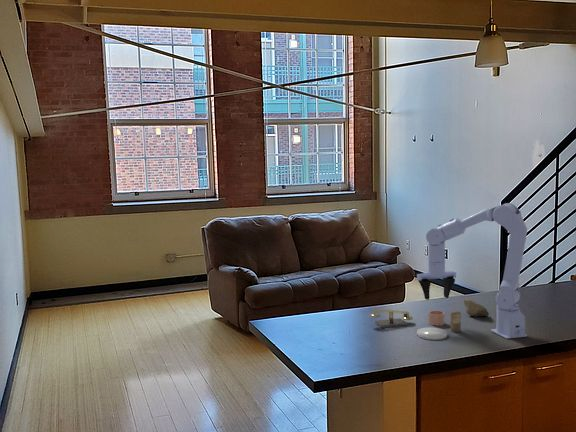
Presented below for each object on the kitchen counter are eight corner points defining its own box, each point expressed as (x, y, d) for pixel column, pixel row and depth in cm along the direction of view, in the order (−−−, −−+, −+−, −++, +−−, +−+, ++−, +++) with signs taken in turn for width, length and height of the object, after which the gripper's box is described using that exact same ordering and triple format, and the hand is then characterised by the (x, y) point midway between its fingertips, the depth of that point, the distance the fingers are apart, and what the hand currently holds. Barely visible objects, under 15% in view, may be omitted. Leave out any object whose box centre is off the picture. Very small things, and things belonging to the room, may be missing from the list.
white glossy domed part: (452, 338, 196) (452, 334, 196) (425, 341, 194) (425, 337, 194) (438, 329, 206) (438, 326, 206) (411, 332, 204) (411, 329, 204)
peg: (462, 331, 203) (462, 313, 202) (453, 332, 202) (453, 314, 202) (457, 329, 206) (457, 310, 206) (448, 329, 206) (448, 311, 205)
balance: (416, 324, 213) (416, 307, 212) (372, 328, 209) (372, 311, 208) (408, 320, 219) (408, 303, 218) (366, 324, 215) (366, 307, 214)
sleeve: (447, 324, 211) (447, 313, 211) (433, 326, 210) (433, 315, 210) (439, 320, 217) (439, 310, 216) (425, 322, 216) (425, 311, 215)
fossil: (486, 305, 215) (462, 295, 222) (480, 314, 214) (456, 304, 221) (491, 316, 221) (468, 306, 228) (485, 325, 220) (462, 315, 227)
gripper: (449, 258, 217) (449, 294, 218) (413, 260, 213) (413, 297, 215) (459, 261, 210) (459, 298, 211) (421, 264, 206) (422, 301, 208)
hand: (436, 298), depth 212 cm, fingers open, 7 cm apart
